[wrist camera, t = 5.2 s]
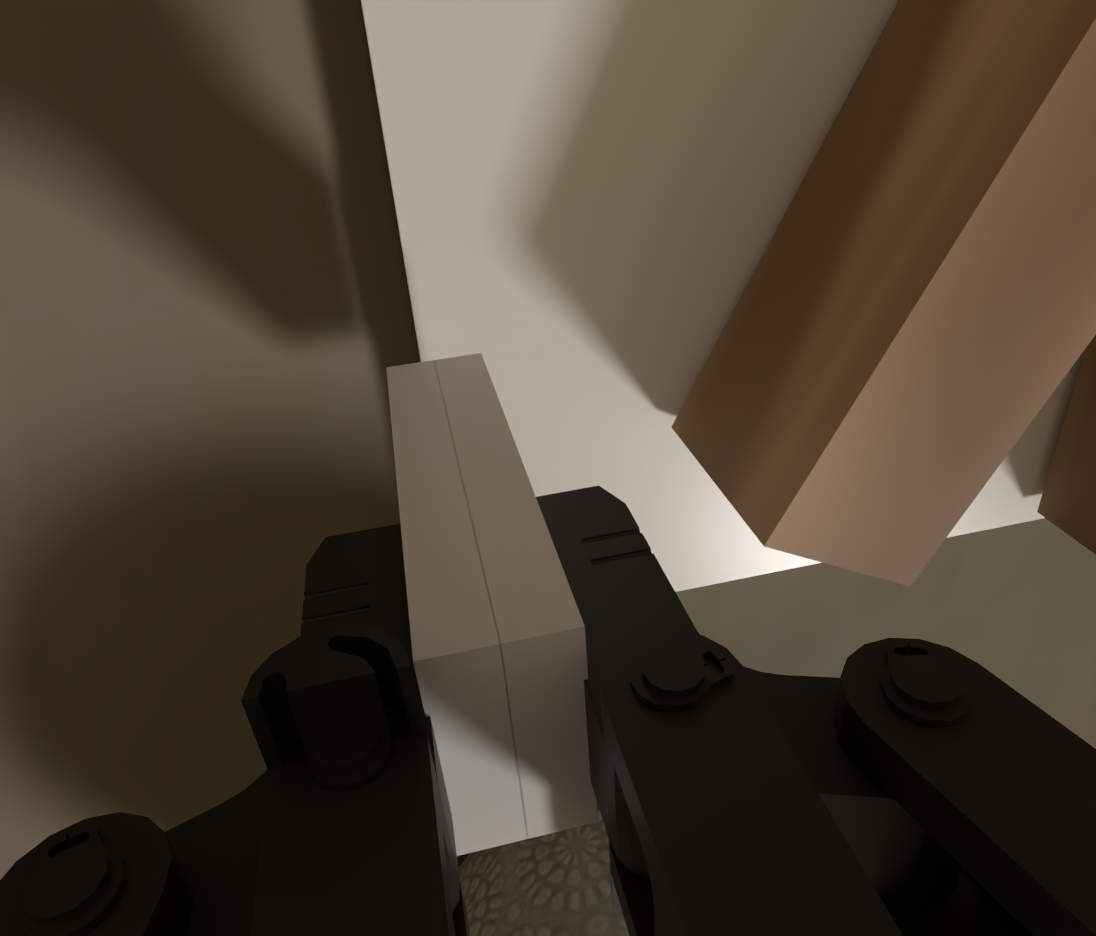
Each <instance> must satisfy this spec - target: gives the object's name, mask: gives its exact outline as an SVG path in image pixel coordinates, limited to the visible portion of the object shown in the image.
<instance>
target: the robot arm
mask: <svg viewBox="0 0 1096 936" xmlns="http://www.w3.org/2000/svg"><path fill="white" fill-rule="evenodd" d="M386 371H387V382H388V393H389V404H390V415H391V425H392V436H393V447H394V458H395V469H396V480H397V491H398V502H399V513H400V524H397V525H391V526H385V527H380V528H374V529H369V530H363V531H358V532H352V533H346V534H341V535H335V536H330V537H326V538H325V539H324V541H323V542H322V543H321V545H320V546H319V548H318V549H317V551H316V552H315V554H314V555H313V557H312V558H311V559H310V561H309V562H308V564H307V568H306V579H305V591H304V595H305V600H304V602H303V614H302V620H303V625H301V637H299V638H297V639H295V640H294V641H292V642H291V643H289V644H287V645H286V646H284V647H282V648H281V649H279V650H278V651H276V652H274V653H273V654H271V655H270V657H269V658H268V659H267V660H266V661H265V662H264V663H263V664H262V665H261V666H260V667H259V668H258V669H257V670H256V672H255V673H254V674H253V675H252V676H251V678H250V680H249V683H248V685H247V688H246V690H245V692H244V695H243V697H242V700H241V702H242V704H243V707H244V709H245V712H246V714H247V717H248V720H249V722H250V725H251V727H252V730H253V733H254V735H255V738H256V740H257V743H258V745H259V748H260V751H261V753H262V756H263V758H264V761H265V763H266V766H267V770H266V771H265V773H264V774H263V775H261V776H260V777H259V778H258V779H257V780H255V781H254V782H253V783H252V784H251V785H250V786H248V787H247V788H246V789H245V790H244V791H242V792H240V793H239V794H237V795H235V796H234V797H232V798H230V799H229V800H227V801H225V802H224V803H222V804H220V805H218V806H216V807H214V808H212V809H210V810H208V811H206V812H204V813H202V814H200V815H198V816H196V817H194V818H192V819H190V820H188V821H186V822H184V823H182V824H180V825H178V826H176V827H174V828H172V829H170V830H168V831H166V832H164V831H163V830H162V829H160V828H159V827H158V826H157V825H156V824H155V823H154V822H152V821H151V820H150V819H149V818H148V817H144V816H138V815H133V814H127V813H121V812H118V813H113V814H108V815H103V816H97V817H92V818H87V819H84V820H82V821H80V822H78V823H76V824H74V825H72V826H69V827H67V828H65V829H63V830H61V831H59V832H57V833H55V834H53V835H50V836H49V837H48V838H46V839H45V840H44V841H43V842H41V843H40V844H39V845H37V846H36V847H35V848H33V849H32V850H31V851H29V852H28V853H27V854H26V855H24V856H23V857H22V858H20V859H19V860H18V861H16V862H15V864H14V865H13V866H12V867H11V868H10V870H9V871H8V872H7V873H6V874H5V875H4V877H3V878H2V879H1V880H0V936H470V933H469V925H468V918H467V910H466V906H465V902H464V897H463V893H462V888H461V884H460V878H459V870H458V861H457V856H460V855H464V854H468V853H472V852H476V851H480V850H484V849H488V848H493V847H497V846H501V845H505V844H509V843H513V842H517V841H521V840H526V839H530V838H534V837H538V836H542V835H546V834H550V833H554V832H558V831H563V830H567V829H571V828H575V827H579V826H583V825H587V824H591V823H596V822H598V820H597V805H596V800H597V803H598V806H599V809H600V813H601V816H602V819H603V822H604V825H605V829H606V832H607V835H608V839H609V857H610V875H611V893H612V906H613V918H617V917H620V916H624V919H625V922H626V926H627V929H628V933H629V936H1096V749H1095V748H1094V747H1092V746H1091V745H1089V744H1088V743H1087V742H1085V741H1084V740H1083V739H1081V738H1080V737H1078V736H1077V735H1076V734H1074V733H1073V732H1072V731H1070V730H1069V729H1067V728H1066V727H1065V726H1063V725H1062V724H1061V723H1059V722H1058V721H1056V720H1055V719H1054V718H1052V717H1051V716H1050V715H1048V714H1047V713H1046V712H1044V711H1043V710H1041V709H1040V708H1039V707H1037V706H1036V705H1035V704H1033V703H1032V702H1030V701H1029V700H1028V699H1026V698H1025V697H1024V696H1022V695H1021V694H1019V693H1018V692H1017V691H1015V690H1014V689H1013V688H1011V687H1010V686H1008V685H1007V684H1006V683H1004V682H1003V681H1002V680H1000V679H999V678H997V677H996V676H995V675H993V674H992V673H991V672H989V671H988V670H986V669H985V668H984V667H982V666H981V665H980V664H978V663H976V662H975V661H973V660H971V659H969V658H967V657H966V656H964V655H962V654H960V653H958V652H957V651H955V650H953V649H951V648H949V647H945V646H942V645H938V644H934V643H931V642H927V641H924V640H920V639H904V638H887V639H883V640H879V641H876V642H872V643H868V644H864V645H863V646H862V647H860V648H859V649H858V650H857V651H855V652H854V653H853V654H852V655H850V656H849V657H848V658H847V660H846V663H845V666H844V669H843V671H842V674H841V677H840V678H831V677H810V676H789V675H778V674H771V673H763V672H759V671H756V670H753V669H750V668H746V667H743V666H742V665H741V664H740V663H739V661H738V660H737V659H736V658H735V657H734V656H733V655H732V654H731V653H730V652H729V651H728V649H727V648H725V647H723V646H722V645H720V644H718V643H716V642H714V641H712V640H710V639H708V638H707V637H705V636H702V635H700V634H699V633H698V632H697V630H696V628H695V627H694V625H693V623H692V621H691V619H690V618H689V616H688V614H687V612H686V611H685V609H684V607H683V605H682V603H681V602H680V600H679V598H678V596H677V594H676V593H675V591H674V589H673V587H672V585H671V584H670V582H669V580H668V578H667V577H666V575H665V573H664V571H663V569H662V568H661V566H660V564H659V562H658V560H657V559H656V557H655V555H654V553H653V554H652V553H651V548H650V546H649V544H648V543H647V541H646V539H645V537H644V535H643V534H642V533H640V530H639V526H638V525H637V523H636V521H635V519H634V517H633V516H632V514H631V512H630V510H629V509H628V507H627V505H626V503H624V502H623V501H621V500H620V499H618V498H617V497H615V496H614V495H612V494H611V493H609V492H608V491H606V490H605V489H603V488H602V487H600V486H593V487H588V488H582V489H577V490H571V491H565V492H560V493H554V494H549V495H543V496H537V497H536V496H535V494H534V491H533V488H532V486H531V483H530V480H529V478H528V475H527V473H526V470H525V467H524V465H523V462H522V459H521V457H520V454H519V451H518V449H517V446H516V443H515V441H514V438H513V436H512V433H511V430H510V428H509V425H508V422H507V420H506V417H505V414H504V412H503V409H502V407H501V404H500V401H499V399H498V396H497V393H496V391H495V388H494V385H493V383H492V380H491V378H490V375H489V372H488V370H487V367H486V364H485V362H484V359H483V356H482V354H481V353H478V354H471V355H465V356H458V357H451V358H445V359H438V360H431V361H425V362H418V363H411V364H405V365H398V366H391V367H386Z"/></svg>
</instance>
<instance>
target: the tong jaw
mask: <svg viewBox="0 0 1096 936" xmlns="http://www.w3.org/2000/svg"><path fill="white" fill-rule="evenodd" d="M1095 335H1096V0H899V1H898V2H897V4H896V6H895V8H894V10H893V12H892V14H891V16H890V17H889V19H888V21H887V23H886V25H885V27H884V29H883V31H882V32H881V34H880V36H879V38H878V40H877V42H876V44H875V46H874V47H873V49H872V51H871V53H870V55H869V57H868V59H867V61H866V62H865V64H864V66H863V68H862V70H861V72H860V74H859V76H858V78H857V79H856V81H855V83H854V85H853V87H852V89H851V91H850V93H849V94H848V96H847V98H846V100H845V102H844V104H843V106H842V108H841V109H840V111H839V113H838V115H837V117H836V119H835V121H834V123H833V124H832V126H831V128H830V130H829V132H828V134H827V136H826V138H825V139H824V141H823V143H822V145H821V147H820V149H819V151H818V153H817V154H816V156H815V158H814V160H813V162H812V164H811V166H810V168H809V170H808V171H807V173H806V175H805V177H804V179H803V181H802V183H801V185H800V186H799V188H798V190H797V192H796V194H795V196H794V198H793V200H792V201H791V203H790V205H789V207H788V209H787V211H786V213H785V215H784V216H783V218H782V220H781V222H780V224H779V226H778V228H777V230H776V231H775V233H774V235H773V237H772V239H771V241H770V243H769V245H768V246H767V248H766V250H765V252H764V254H763V256H762V258H761V260H760V262H759V263H758V265H757V267H756V269H755V271H754V273H753V275H752V277H751V278H750V280H749V282H748V284H747V286H746V288H745V290H744V292H743V293H742V295H741V297H740V299H739V301H738V303H737V305H736V307H735V308H734V310H733V312H732V314H731V316H730V318H729V320H728V322H727V323H726V325H725V327H724V329H723V331H722V333H721V335H720V337H719V339H718V340H717V342H716V344H715V346H714V348H713V350H712V352H711V354H710V355H709V357H708V359H707V361H706V363H705V365H704V367H703V369H702V370H701V372H700V374H699V376H698V378H697V380H696V382H695V384H694V385H693V387H692V389H691V391H690V393H689V395H688V397H687V399H686V400H685V402H684V404H683V406H682V408H681V410H680V412H679V414H678V415H677V417H676V419H675V421H674V423H673V425H672V429H673V430H674V431H675V433H676V434H677V435H678V436H679V438H680V439H681V440H682V442H683V443H684V444H685V445H686V447H687V448H688V449H689V451H690V452H691V453H692V454H693V456H694V457H695V458H696V460H697V461H698V462H699V463H700V465H701V466H702V467H703V469H704V470H705V471H706V472H707V474H708V475H709V476H710V478H711V479H712V480H713V481H714V483H715V484H716V485H717V487H718V488H719V489H720V491H721V492H722V493H723V494H724V496H725V497H726V498H727V500H728V501H729V502H730V503H731V505H732V506H733V507H734V509H735V510H736V511H737V512H738V514H739V515H740V516H741V518H742V519H743V520H744V521H745V523H746V524H747V525H748V527H749V528H750V529H751V530H752V532H753V533H754V534H755V536H756V537H757V538H758V539H759V541H760V542H761V543H762V545H763V546H764V547H768V548H771V549H775V550H779V551H782V552H786V553H790V554H793V555H797V556H800V557H804V558H808V559H811V560H815V561H819V562H822V563H826V564H830V565H833V566H837V567H840V568H844V569H848V570H851V571H855V572H859V573H862V574H866V575H870V576H873V577H877V578H880V579H884V580H888V581H891V582H895V583H899V584H902V585H906V586H911V585H912V584H913V582H914V581H915V579H916V578H917V577H918V575H919V574H920V573H921V571H922V570H923V569H924V567H925V566H926V565H927V563H928V562H929V560H930V559H931V558H932V556H933V555H934V554H935V552H936V551H937V550H938V548H939V547H940V545H941V544H942V543H943V541H944V540H945V539H946V537H947V536H948V535H949V533H950V532H951V531H952V529H953V528H954V526H955V525H956V524H957V522H958V521H959V520H960V518H961V517H962V516H963V514H964V513H965V512H966V510H967V509H968V507H969V506H970V505H971V503H972V502H973V501H974V499H975V498H976V497H977V495H978V494H979V492H980V491H981V490H982V488H983V487H984V486H985V484H986V483H987V482H988V480H989V479H990V478H991V476H992V475H993V473H994V472H995V471H996V469H997V468H998V467H999V465H1000V464H1001V463H1002V461H1003V460H1004V459H1005V457H1006V456H1007V454H1008V453H1009V452H1010V450H1011V449H1012V448H1013V446H1014V445H1015V444H1016V442H1017V441H1018V439H1019V438H1020V437H1021V435H1022V434H1023V433H1024V431H1025V430H1026V429H1027V427H1028V426H1029V425H1030V423H1031V422H1032V420H1033V419H1034V418H1035V416H1036V415H1037V414H1038V412H1039V411H1040V410H1041V408H1042V407H1043V406H1044V404H1045V403H1046V401H1047V400H1048V399H1049V397H1050V396H1051V395H1052V393H1053V392H1054V391H1055V389H1056V388H1057V386H1058V385H1059V384H1060V382H1061V381H1062V380H1063V378H1064V377H1065V376H1066V374H1067V373H1068V372H1069V370H1070V369H1071V367H1072V366H1073V365H1074V363H1075V362H1076V361H1077V359H1078V358H1079V357H1080V355H1081V354H1082V353H1083V351H1084V350H1085V348H1086V347H1087V346H1088V344H1089V343H1090V342H1091V340H1092V339H1093V338H1094V336H1095Z"/></svg>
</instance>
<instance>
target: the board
mask: <svg viewBox="0 0 1096 936" xmlns="http://www.w3.org/2000/svg"><path fill="white" fill-rule="evenodd" d="M360 1H361V7H362V13H363V19H364V25H365V31H366V37H367V43H368V49H369V55H370V61H371V67H372V73H373V79H374V85H375V91H376V97H377V103H378V109H379V115H380V121H381V127H382V133H383V139H384V145H385V151H386V157H387V163H388V169H389V175H390V181H391V187H392V193H393V199H394V205H395V212H396V218H397V224H398V230H399V236H400V242H401V248H402V254H403V260H404V266H405V272H406V278H407V284H408V290H409V296H410V302H411V308H412V314H413V320H414V326H415V332H416V338H417V344H418V350H419V356H420V362H425V361H431V360H438V359H445V358H451V357H458V356H465V355H471V354H478V353H481V354H482V356H483V359H484V362H485V364H486V367H487V370H488V372H489V375H490V378H491V380H492V383H493V385H494V388H495V391H496V393H497V396H498V399H499V401H500V404H501V407H502V409H503V412H504V414H505V417H506V420H507V422H508V425H509V428H510V430H511V433H512V436H513V438H514V441H515V443H516V446H517V449H518V451H519V454H520V457H521V459H522V462H523V465H524V467H525V470H526V473H527V475H528V478H529V480H530V483H531V486H532V488H533V491H534V494H535V496H536V497H537V496H543V495H549V494H554V493H560V492H565V491H571V490H577V489H582V488H588V487H593V486H600V487H602V488H603V489H605V490H606V491H608V492H609V493H611V494H612V495H614V496H615V497H617V498H618V499H620V500H621V501H623V502H624V503H626V505H627V507H628V509H629V510H630V512H631V514H632V516H633V517H634V519H635V521H636V523H637V525H638V526H639V530H640V533H642V534H643V535H644V537H645V539H646V541H647V543H648V544H649V546H650V548H651V553H652V554H653V553H654V555H655V557H656V559H657V560H658V562H659V564H660V566H661V568H662V569H663V571H664V573H665V575H666V577H667V578H668V580H669V582H670V584H671V585H672V587H673V589H674V591H675V592H677V591H682V590H687V589H692V588H697V587H702V586H707V585H712V584H717V583H722V582H727V581H732V580H737V579H742V578H747V577H752V576H757V575H762V574H767V573H772V572H777V571H782V570H787V569H792V568H797V567H802V566H807V565H812V564H817V563H822V562H819V561H815V560H811V559H808V558H804V557H800V556H797V555H793V554H790V553H786V552H782V551H779V550H775V549H771V548H768V547H764V546H763V545H762V543H761V542H760V541H759V539H758V538H757V537H756V536H755V534H754V533H753V532H752V530H751V529H750V528H749V527H748V525H747V524H746V523H745V521H744V520H743V519H742V518H741V516H740V515H739V514H738V512H737V511H736V510H735V509H734V507H733V506H732V505H731V503H730V502H729V501H728V500H727V498H726V497H725V496H724V494H723V493H722V492H721V491H720V489H719V488H718V487H717V485H716V484H715V483H714V481H713V480H712V479H711V478H710V476H709V475H708V474H707V472H706V471H705V470H704V469H703V467H702V466H701V465H700V463H699V462H698V461H697V460H696V458H695V457H694V456H693V454H692V453H691V452H690V451H689V449H688V448H687V447H686V445H685V444H684V443H683V442H682V440H681V439H680V438H679V436H678V435H677V434H676V433H675V431H674V430H673V429H672V425H673V423H674V421H675V419H676V417H677V415H678V414H679V412H680V410H681V408H682V406H683V404H684V402H685V400H686V399H687V397H688V395H689V393H690V391H691V389H692V387H693V385H694V384H695V382H696V380H697V378H698V376H699V374H700V372H701V370H702V369H703V367H704V365H705V363H706V361H707V359H708V357H709V355H710V354H711V352H712V350H713V348H714V346H715V344H716V342H717V340H718V339H719V337H720V335H721V333H722V331H723V329H724V327H725V325H726V323H727V322H728V320H729V318H730V316H731V314H732V312H733V310H734V308H735V307H736V305H737V303H738V301H739V299H740V297H741V295H742V293H743V292H744V290H745V288H746V286H747V284H748V282H749V280H750V278H751V277H752V275H753V273H754V271H755V269H756V267H757V265H758V263H759V262H760V260H761V258H762V256H763V254H764V252H765V250H766V248H767V246H768V245H769V243H770V241H771V239H772V237H773V235H774V233H775V231H776V230H777V228H778V226H779V224H780V222H781V220H782V218H783V216H784V215H785V213H786V211H787V209H788V207H789V205H790V203H791V201H792V200H793V198H794V196H795V194H796V192H797V190H798V188H799V186H800V185H801V183H802V181H803V179H804V177H805V175H806V173H807V171H808V170H809V168H810V166H811V164H812V162H813V160H814V158H815V156H816V154H817V153H818V151H819V149H820V147H821V145H822V143H823V141H824V139H825V138H826V136H827V134H828V132H829V130H830V128H831V126H832V124H833V123H834V121H835V119H836V117H837V115H838V113H839V111H840V109H841V108H842V106H843V104H844V102H845V100H846V98H847V96H848V94H849V93H850V91H851V89H852V87H853V85H854V83H855V81H856V79H857V78H858V76H859V74H860V72H861V70H862V68H863V66H864V64H865V62H866V61H867V59H868V57H869V55H870V53H871V51H872V49H873V47H874V46H875V44H876V42H877V40H878V38H879V36H880V34H881V32H882V31H883V29H884V27H885V25H886V23H887V21H888V19H889V17H890V16H891V14H892V12H893V10H894V8H895V6H896V4H897V2H898V1H899V0H360ZM1085 350H1086V348H1085ZM1085 350H1084V351H1083V353H1082V354H1081V355H1080V357H1079V358H1078V359H1077V361H1076V362H1075V363H1074V365H1073V366H1072V367H1071V369H1070V370H1069V372H1068V373H1067V374H1066V376H1065V377H1064V378H1063V380H1062V381H1061V382H1060V384H1059V385H1058V386H1057V388H1056V389H1055V391H1054V392H1053V393H1052V395H1051V396H1050V397H1049V399H1048V400H1047V401H1046V403H1045V404H1044V406H1043V407H1042V408H1041V410H1040V411H1039V412H1038V414H1037V415H1036V416H1035V418H1034V419H1033V420H1032V422H1031V423H1030V425H1029V426H1028V427H1027V429H1026V430H1025V431H1024V433H1023V434H1022V435H1021V437H1020V438H1019V439H1018V441H1017V442H1016V444H1015V445H1014V446H1013V448H1012V449H1011V450H1010V452H1009V453H1008V454H1007V456H1006V457H1005V459H1004V460H1003V461H1002V463H1001V464H1000V465H999V467H998V468H997V469H996V471H995V472H994V473H993V475H992V476H991V478H990V479H989V480H988V482H987V483H986V484H985V486H984V487H983V488H982V490H981V491H980V492H979V494H978V495H977V497H976V498H975V499H974V501H973V502H972V503H971V505H970V506H969V507H968V509H967V510H966V512H965V513H964V514H963V516H962V517H961V518H960V520H959V521H958V522H957V524H956V525H955V526H954V528H953V529H952V531H951V532H950V533H949V535H948V536H947V537H952V536H957V535H962V534H967V533H972V532H977V531H982V530H987V529H992V528H997V527H1002V526H1007V525H1012V524H1017V523H1022V522H1027V521H1032V520H1037V519H1042V518H1045V517H1044V516H1042V515H1041V514H1039V513H1038V512H1037V510H1038V507H1039V504H1040V500H1041V497H1042V494H1043V490H1044V487H1045V484H1046V480H1047V477H1048V474H1049V470H1050V467H1051V464H1052V460H1053V457H1054V454H1055V450H1056V447H1057V444H1058V440H1059V437H1060V434H1061V430H1062V427H1063V423H1064V420H1065V417H1066V413H1067V410H1068V407H1069V403H1070V400H1071V397H1072V393H1073V390H1074V387H1075V383H1076V380H1077V377H1078V373H1079V370H1080V367H1081V363H1082V360H1083V357H1084V353H1085ZM947 537H946V538H947Z"/></svg>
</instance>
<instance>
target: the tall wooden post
mask: <svg viewBox="0 0 1096 936" xmlns="http://www.w3.org/2000/svg"><path fill="white" fill-rule="evenodd" d="M1037 512H1038V513H1039V514H1041V515H1042V516H1044V517H1045V518H1046V519H1048V520H1049V521H1050V522H1052V523H1053V524H1055V525H1056V526H1057V527H1059V528H1060V529H1061V530H1063V531H1064V532H1066V533H1067V534H1068V535H1070V536H1071V537H1073V538H1074V539H1075V540H1077V541H1078V542H1079V543H1081V544H1082V545H1084V546H1085V547H1086V548H1088V549H1089V550H1091V551H1092V552H1093V553H1095V554H1096V335H1095V336H1094V338H1093V339H1092V340H1091V342H1090V343H1089V344H1088V346H1087V347H1086V350H1085V353H1084V357H1083V360H1082V363H1081V367H1080V370H1079V373H1078V377H1077V380H1076V383H1075V387H1074V390H1073V393H1072V397H1071V400H1070V403H1069V407H1068V410H1067V413H1066V417H1065V420H1064V423H1063V427H1062V430H1061V434H1060V437H1059V440H1058V444H1057V447H1056V450H1055V454H1054V457H1053V460H1052V464H1051V467H1050V470H1049V474H1048V477H1047V480H1046V484H1045V487H1044V490H1043V494H1042V497H1041V500H1040V504H1039V507H1038V510H1037Z"/></svg>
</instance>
